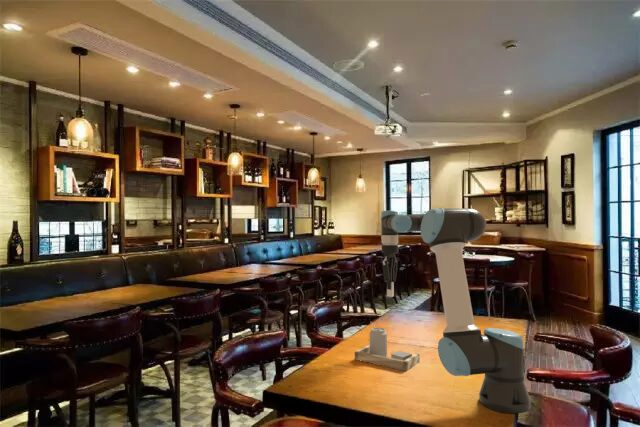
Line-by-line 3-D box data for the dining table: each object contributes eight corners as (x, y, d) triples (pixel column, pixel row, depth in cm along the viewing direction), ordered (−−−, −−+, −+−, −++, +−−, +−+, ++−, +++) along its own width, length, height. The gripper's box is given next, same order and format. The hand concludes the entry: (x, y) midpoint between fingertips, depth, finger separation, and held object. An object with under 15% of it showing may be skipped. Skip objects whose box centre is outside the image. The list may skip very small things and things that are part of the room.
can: (367, 358, 182) (366, 330, 183) (373, 353, 189) (373, 326, 189) (383, 360, 179) (383, 332, 179) (389, 355, 186) (389, 327, 186)
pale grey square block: (403, 367, 171) (403, 357, 171) (391, 363, 176) (391, 353, 176) (411, 363, 175) (411, 354, 176) (400, 360, 180) (400, 350, 180)
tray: (406, 371, 166) (406, 362, 166) (354, 360, 180) (354, 351, 180) (419, 362, 177) (419, 353, 177) (369, 352, 190) (369, 344, 190)
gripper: (388, 243, 201) (389, 293, 201) (375, 245, 191) (376, 297, 190) (403, 243, 197) (404, 295, 197) (390, 245, 186) (391, 299, 186)
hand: (390, 296), depth 193 cm, fingers closed
